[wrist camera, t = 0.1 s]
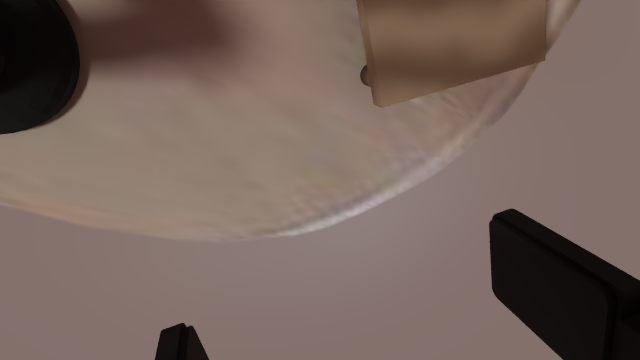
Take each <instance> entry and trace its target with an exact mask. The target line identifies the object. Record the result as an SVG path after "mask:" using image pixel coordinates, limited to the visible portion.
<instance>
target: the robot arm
mask: <svg viewBox="0 0 640 360" xmlns="http://www.w3.org/2000/svg"><path fill="white" fill-rule="evenodd" d="M489 232H490V254H491V275H492V289H493V292H494V294H495V296H496V297H497V298H498V299H499V300H500V301H501V302H502V303H503V304H504V305H505V306H506V307H507V308H508V309H509V310H510V311H512V312H513V313H514V314H515V315H516V316H517V317H518V318H519V319H520V320H521V321H522V322H523V323H524V324H525V325H526V326H528V327H529V328H530V329H531V330H532V331H533V332H534V333H535V334H536V335H537V336H538V337H539V338H541V339H542V340H543V341H544V342H545V343H546V344H547V345H548V346H549V347H550V348H551V349H552V350H553V351H554V352H555V353H557V354H558V355H559V356H560V357H561V358H562V359H563V360H640V280H638V279H636V278H634V277H632V276H631V275H629V274H627V273H626V272H624V271H622V270H620V269H619V268H617V267H615V266H613V265H612V264H609V263H608V262H606V261H605V260H603V259H601V258H599V257H598V256H596V255H594V254H592V253H591V252H589V251H587V250H585V249H583V248H582V247H580V246H578V245H577V244H575V243H573V242H571V241H570V240H568V239H566V238H564V237H563V236H561V235H559V234H557V233H556V232H554V231H552V230H550V229H548V228H547V227H545V226H543V225H542V224H540V223H538V222H536V221H535V220H533V219H531V218H529V217H528V216H526V215H524V214H522V213H521V212H519V211H517V210H515V209H508V210H505V211H503V212H500V213H497V214H495V215H494V216H493V218H492V220H491V221H490V223H489ZM155 360H209V359H208V356H207V354H206V352H205V350H204V348H203V346H202V344H201V342H200V340H199V337H198V335H197V333H196V331H195V329H194V327H193V326H188V327H186V325H185V324H184V323H181V324H178V325H175V326H172V327H169V328H166V329H163V330H162V331H161V333H160V338H159V342H158V347H157V352H156V357H155Z"/></svg>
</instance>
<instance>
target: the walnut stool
mask: <svg viewBox="0 0 640 360" xmlns="http://www.w3.org/2000/svg"><path fill="white" fill-rule="evenodd" d="M356 1H357V7H358V13H359V19H360V25H361V31H362V37H363V43H364V49H365V55H366V61H367V65H366V66H364V67H363V69H362V71H361V74H360V77H361V81H362V82H363V83H364V84H365V85H367V86H370V87H371V91H372V97H373V103H374V105H377V106H379V107H381V108H382V107H385V106H389V105H392V104H396V103H399V102H403V101H406V100H410V99H413V98H417V97H420V96H424V95H427V94H430V93H434V92H437V91H441V90H444V89H448V88H451V87H455V86H458V85H462V84H465V83H468V82H472V81H475V80H479V79H482V78H486V77H489V76H493V75H496V74H500V73H503V72H507V71H510V70H513V69H517V68H520V67H524V66H527V65H531V64H534V63H538V62H541V61H544V60H545V43H546V0H356Z"/></svg>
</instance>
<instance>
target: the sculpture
mask: <svg viewBox="0 0 640 360" xmlns="http://www.w3.org/2000/svg"><path fill="white" fill-rule="evenodd" d="M79 68H80V61H79V51H78V45H77V41H76V38H75V35H74V32H73V29H72V27H71V25H70V23H69V21H68V19H67V17H66V16H65V14H64V12H63V11H62V9H61V7H60V6H59V5H58V3H57V2H56V1H55V0H0V134H8V133H15V132H19V131H23V130H27V129H29V128H32V127H35V126H37V125H39V124H41V123H43V122H45V121H47V120H49V119H50V118H52V117H53V116H54V115H55V114H57V113H58V112H59V111H60V110H61V109H62V108H63V107H64V106H65V105H66V104H67V102H68V101H69V99H70V98H71V96H72V94H73V92H74V90H75V87H76V84H77V80H78V76H79Z"/></svg>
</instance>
